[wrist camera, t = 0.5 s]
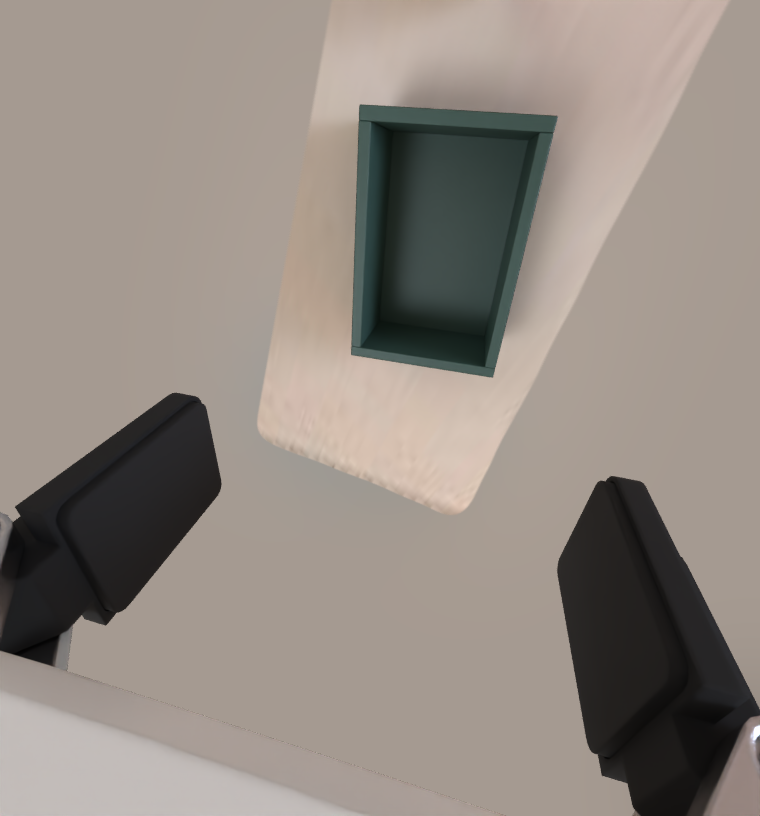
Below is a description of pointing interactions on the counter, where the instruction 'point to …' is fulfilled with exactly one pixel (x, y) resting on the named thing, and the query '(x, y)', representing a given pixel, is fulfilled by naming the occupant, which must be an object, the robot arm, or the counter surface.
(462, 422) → the counter surface
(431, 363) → the bin
